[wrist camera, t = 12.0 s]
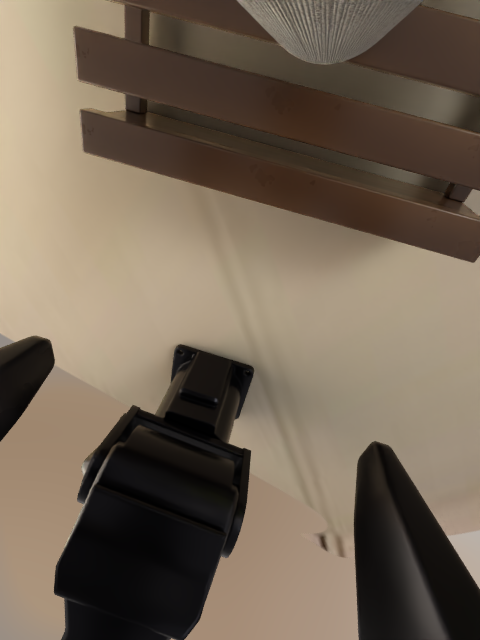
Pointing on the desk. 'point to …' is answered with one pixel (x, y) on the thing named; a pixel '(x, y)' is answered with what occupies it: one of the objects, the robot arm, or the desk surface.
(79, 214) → the desk surface
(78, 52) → the rack
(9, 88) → the desk surface
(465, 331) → the desk surface
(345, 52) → the grey hollow cylinder
